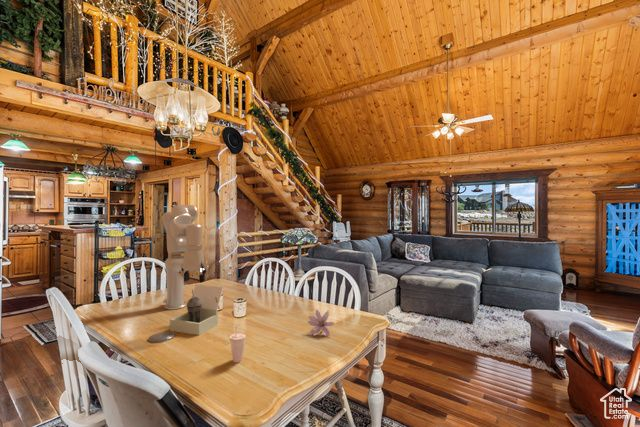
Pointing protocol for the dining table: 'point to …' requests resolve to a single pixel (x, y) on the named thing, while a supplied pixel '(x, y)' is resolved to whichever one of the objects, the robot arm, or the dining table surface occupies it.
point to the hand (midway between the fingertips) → (194, 281)
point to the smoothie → (237, 346)
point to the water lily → (320, 323)
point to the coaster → (161, 337)
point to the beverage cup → (194, 309)
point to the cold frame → (207, 315)
